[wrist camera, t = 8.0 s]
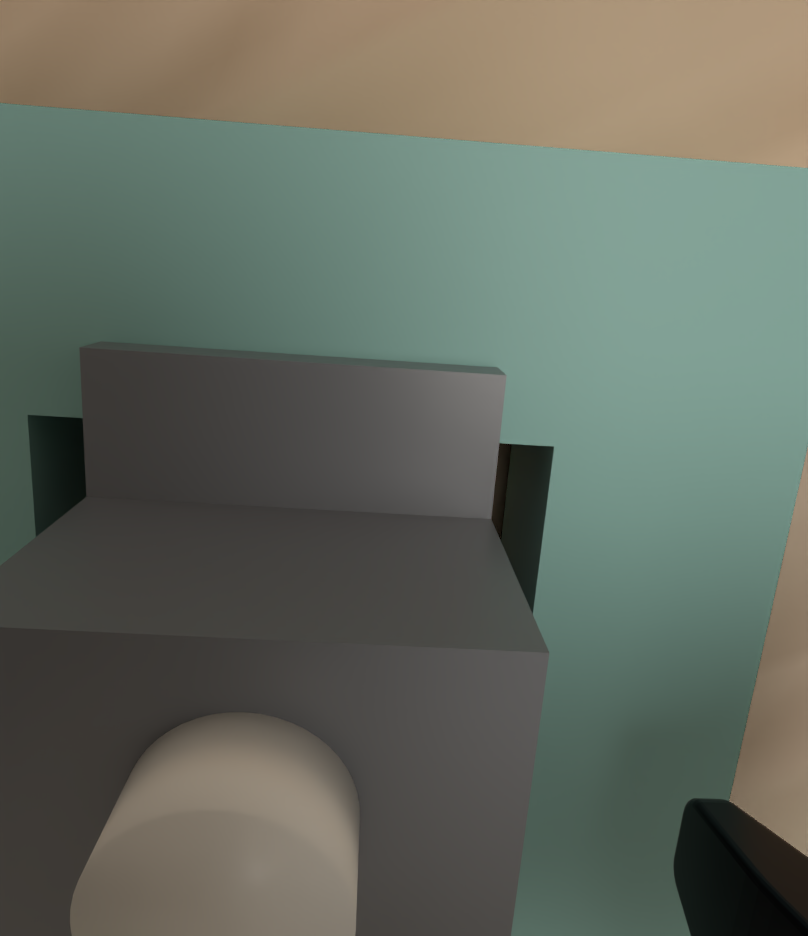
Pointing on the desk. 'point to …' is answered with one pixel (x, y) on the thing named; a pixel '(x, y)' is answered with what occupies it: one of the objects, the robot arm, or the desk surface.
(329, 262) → the plate
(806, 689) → the desk surface
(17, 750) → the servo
